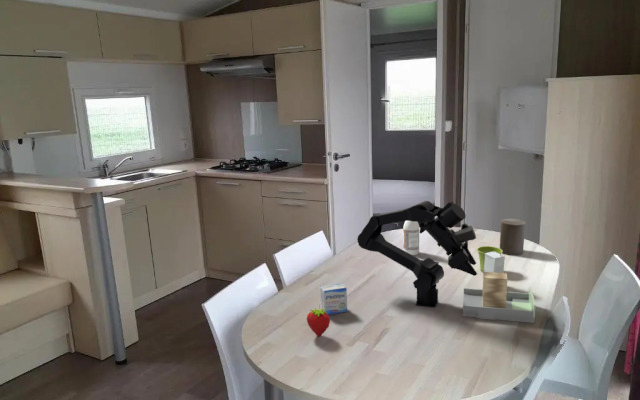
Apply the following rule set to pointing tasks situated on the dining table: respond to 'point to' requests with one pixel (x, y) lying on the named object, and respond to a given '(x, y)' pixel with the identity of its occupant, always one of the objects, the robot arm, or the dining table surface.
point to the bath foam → (411, 237)
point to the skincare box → (494, 262)
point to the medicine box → (334, 299)
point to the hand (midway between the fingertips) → (475, 269)
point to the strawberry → (318, 321)
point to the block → (494, 290)
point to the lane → (516, 308)
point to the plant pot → (484, 250)
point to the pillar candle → (512, 236)
